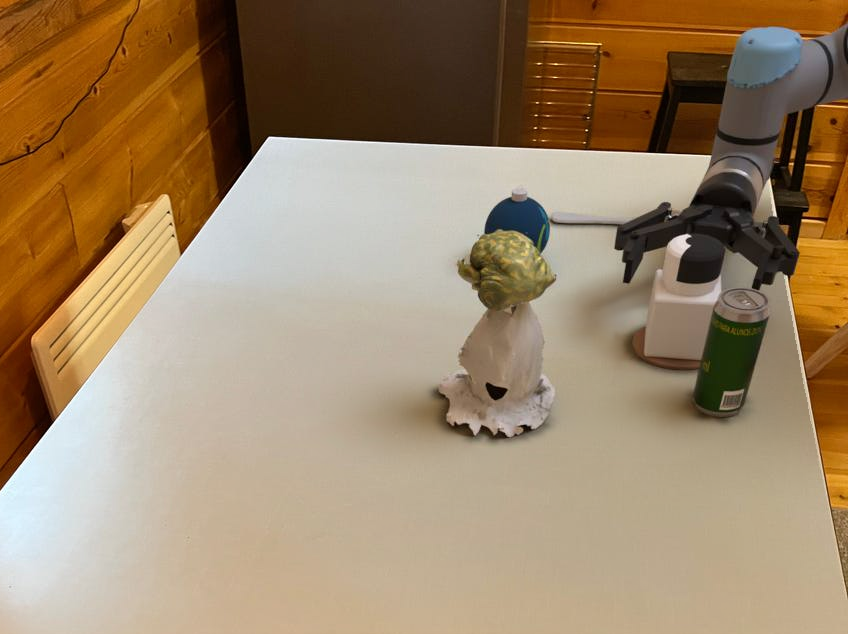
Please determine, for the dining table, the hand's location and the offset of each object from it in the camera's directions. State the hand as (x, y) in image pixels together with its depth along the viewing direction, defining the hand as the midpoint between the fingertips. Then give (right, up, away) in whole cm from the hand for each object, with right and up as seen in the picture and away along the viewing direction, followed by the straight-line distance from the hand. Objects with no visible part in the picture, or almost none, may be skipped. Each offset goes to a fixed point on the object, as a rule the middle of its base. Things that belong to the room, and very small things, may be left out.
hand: (689, 281), depth 105 cm
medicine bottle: (+1, -5, +6) cm, 8 cm away
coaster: (+1, -5, +7) cm, 8 cm away
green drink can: (+2, -14, -2) cm, 14 cm away
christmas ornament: (-16, +11, +23) cm, 29 cm away
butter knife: (+2, +19, +29) cm, 34 cm away
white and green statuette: (-21, -13, 0) cm, 25 cm away
